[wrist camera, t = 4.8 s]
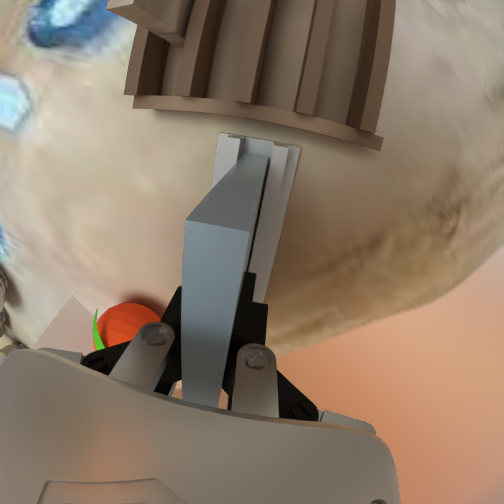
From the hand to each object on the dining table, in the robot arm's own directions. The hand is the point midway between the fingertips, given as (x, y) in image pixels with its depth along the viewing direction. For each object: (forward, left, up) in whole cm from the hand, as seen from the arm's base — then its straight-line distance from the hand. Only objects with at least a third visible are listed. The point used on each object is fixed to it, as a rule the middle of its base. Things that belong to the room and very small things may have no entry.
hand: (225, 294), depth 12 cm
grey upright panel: (0, 0, -6) cm, 6 cm away
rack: (0, -16, -7) cm, 18 cm away
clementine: (+8, +10, -8) cm, 15 cm away
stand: (0, 0, -7) cm, 7 cm away
